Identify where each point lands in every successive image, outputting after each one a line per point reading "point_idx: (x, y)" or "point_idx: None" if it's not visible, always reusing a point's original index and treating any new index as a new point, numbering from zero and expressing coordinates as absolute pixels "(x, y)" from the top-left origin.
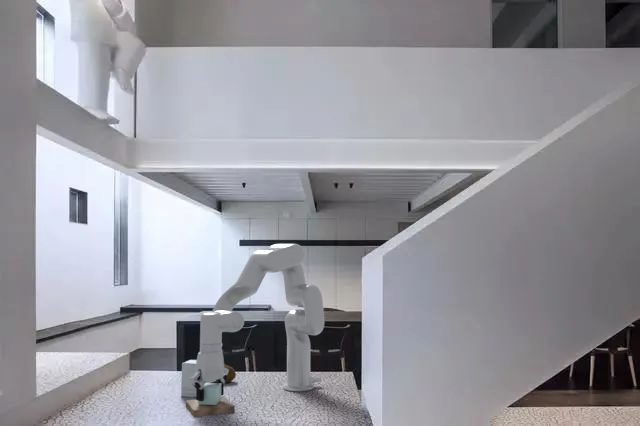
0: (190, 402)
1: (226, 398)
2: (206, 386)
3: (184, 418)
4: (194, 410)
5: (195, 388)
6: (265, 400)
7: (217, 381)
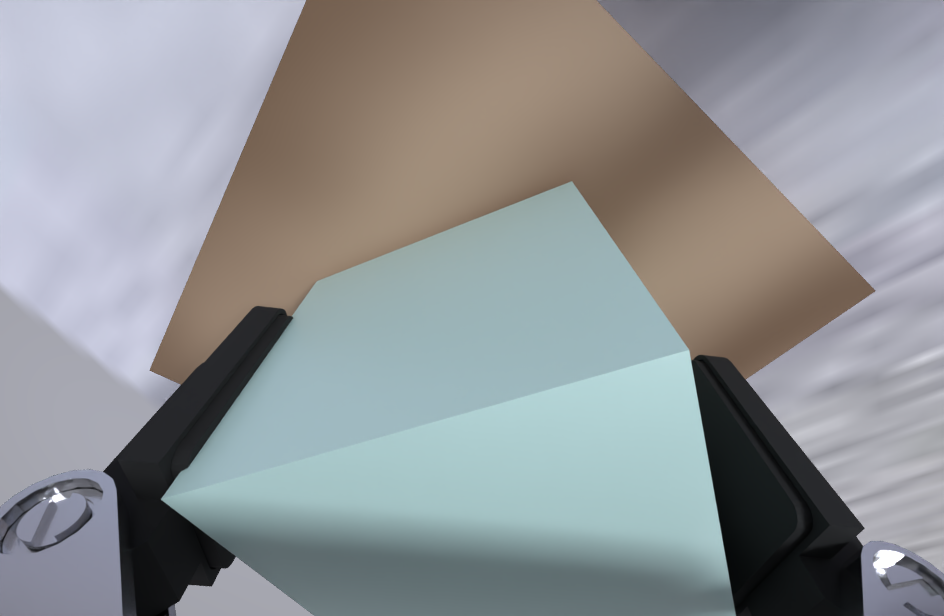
0: (345, 57)
1: (755, 372)
2: (356, 573)
3: (84, 290)
4: (156, 371)
5: (57, 484)
6: (906, 508)
7: (850, 589)
